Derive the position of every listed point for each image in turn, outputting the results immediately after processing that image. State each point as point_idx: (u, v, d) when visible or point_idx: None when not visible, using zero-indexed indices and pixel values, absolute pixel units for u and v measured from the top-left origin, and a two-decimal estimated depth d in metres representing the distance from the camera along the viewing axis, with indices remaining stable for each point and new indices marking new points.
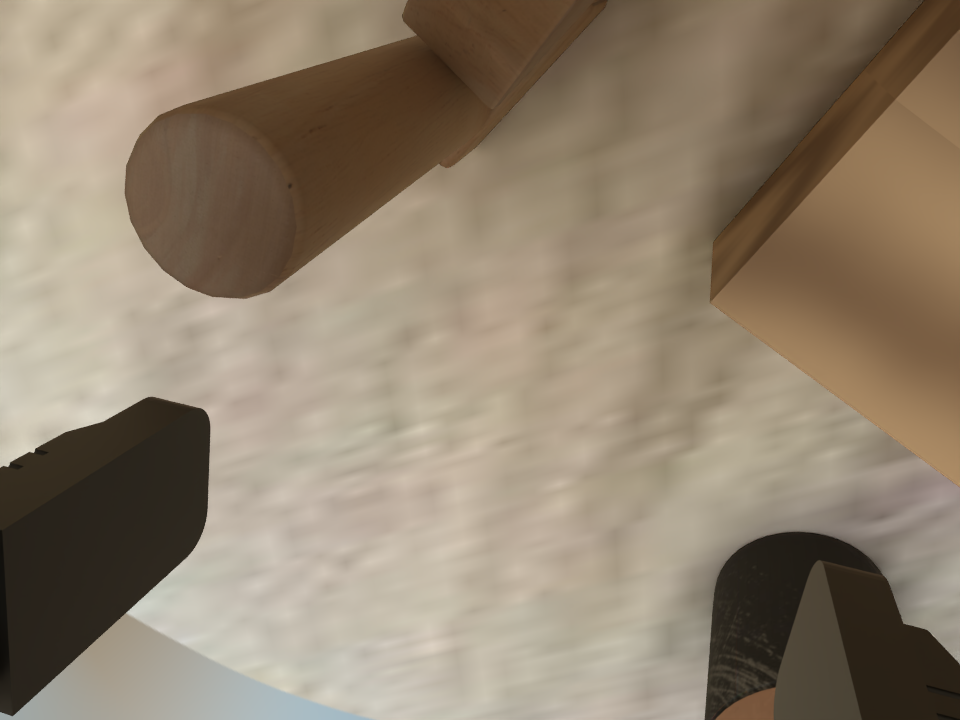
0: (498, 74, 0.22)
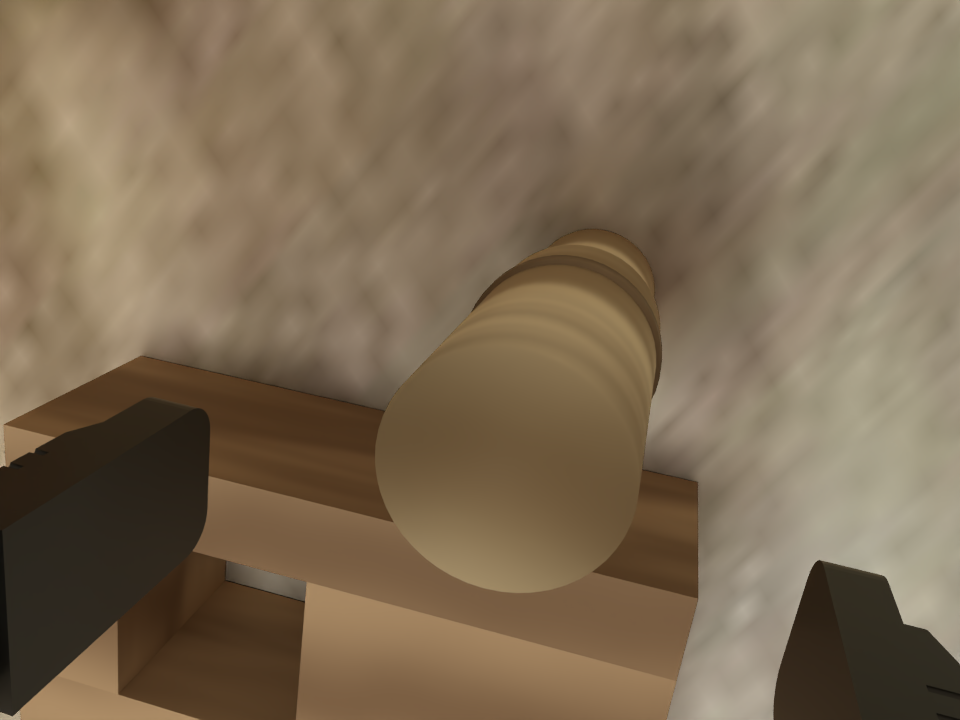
0: None
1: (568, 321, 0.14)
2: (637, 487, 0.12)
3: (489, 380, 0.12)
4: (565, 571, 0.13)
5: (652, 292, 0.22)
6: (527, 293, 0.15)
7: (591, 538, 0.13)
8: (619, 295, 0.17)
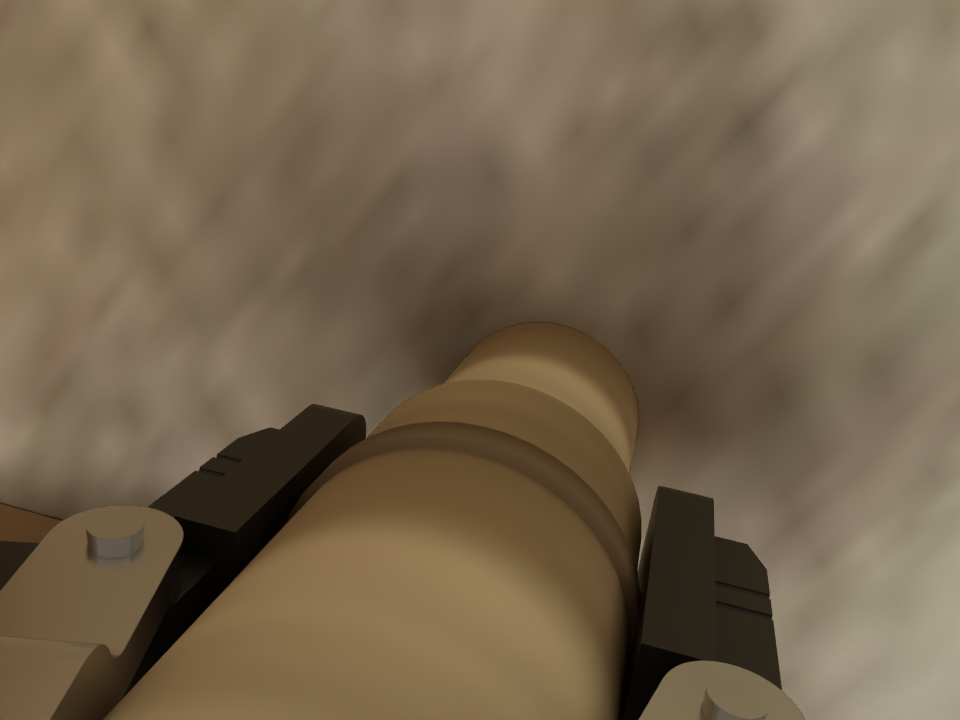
0: None
1: (380, 718, 0.05)
2: None
3: None
4: None
5: (633, 430, 0.14)
6: (326, 574, 0.07)
7: None
8: (551, 527, 0.08)
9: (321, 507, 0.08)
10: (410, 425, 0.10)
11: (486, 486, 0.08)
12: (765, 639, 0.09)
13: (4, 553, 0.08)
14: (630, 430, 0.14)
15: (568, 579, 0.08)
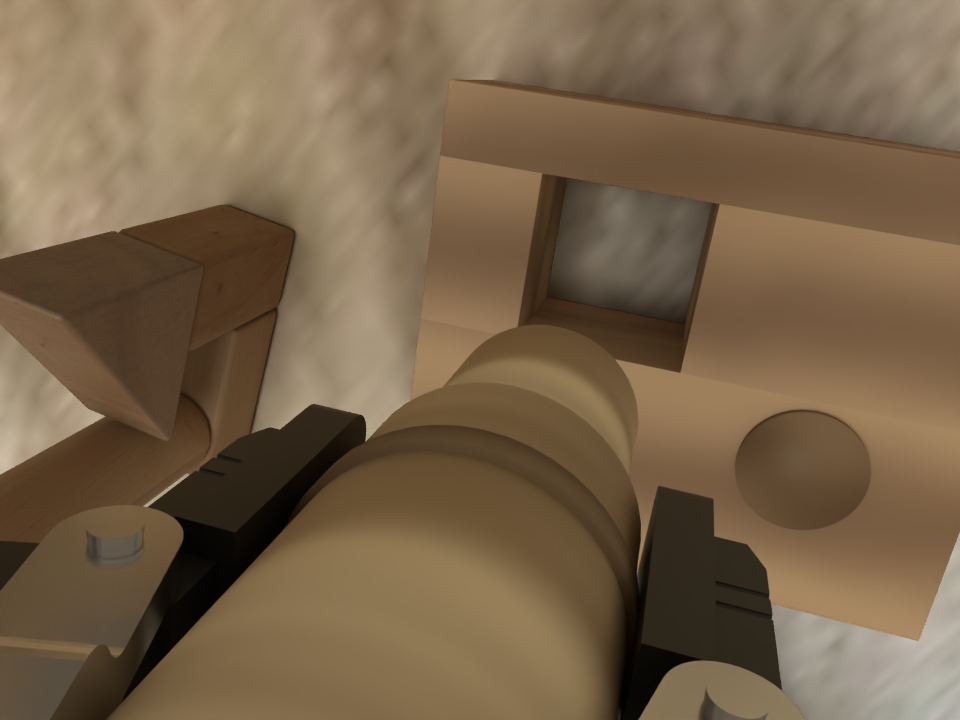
0: (143, 422, 0.30)
1: None
2: None
3: None
4: None
5: (633, 432, 0.14)
6: (326, 578, 0.07)
7: None
8: (550, 530, 0.08)
9: (321, 510, 0.08)
10: (410, 428, 0.10)
11: (485, 489, 0.08)
12: (765, 639, 0.09)
13: (3, 553, 0.08)
14: (630, 432, 0.14)
15: (567, 583, 0.08)
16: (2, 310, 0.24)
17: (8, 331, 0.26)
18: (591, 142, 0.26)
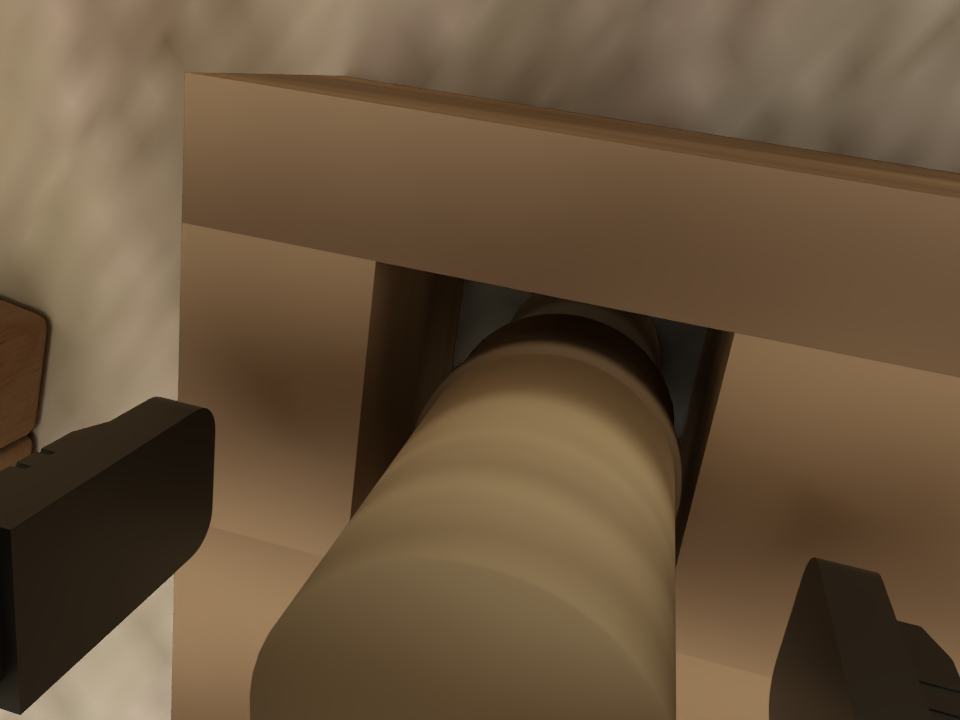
0: None
1: (557, 479, 0.09)
2: None
3: (428, 610, 0.07)
4: None
5: (658, 362, 0.18)
6: (494, 417, 0.10)
7: None
8: (625, 402, 0.12)
9: (466, 389, 0.12)
10: (514, 340, 0.13)
11: (579, 375, 0.12)
12: None
13: None
14: (657, 361, 0.17)
15: (641, 433, 0.11)
16: None
17: None
18: (469, 202, 0.12)
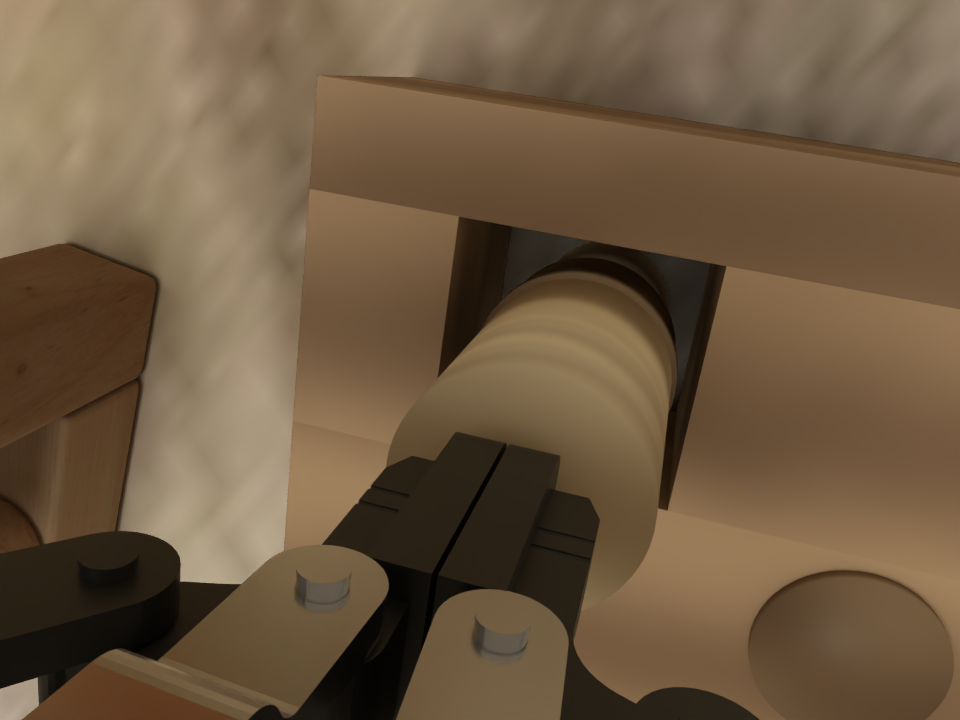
0: None
1: (584, 339, 0.13)
2: (655, 512, 0.12)
3: (502, 401, 0.12)
4: None
5: (666, 305, 0.22)
6: (541, 309, 0.15)
7: (607, 564, 0.12)
8: (634, 311, 0.16)
9: (519, 300, 0.16)
10: (553, 271, 0.18)
11: (601, 291, 0.16)
12: (576, 578, 0.09)
13: (199, 595, 0.08)
14: (665, 303, 0.22)
15: (645, 330, 0.16)
16: None
17: None
18: (531, 171, 0.17)
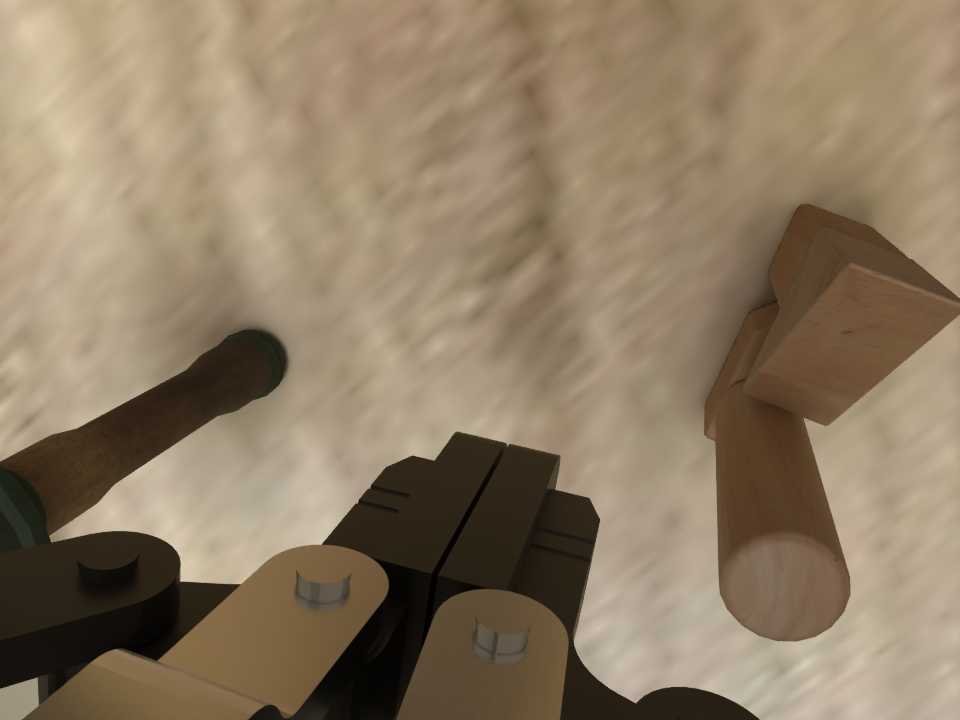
0: (834, 407, 0.32)
1: None
2: None
3: None
4: None
5: None
6: None
7: None
8: None
9: None
10: None
11: None
12: (576, 578, 0.09)
13: (198, 595, 0.08)
14: None
15: None
16: (865, 299, 0.26)
17: (811, 318, 0.28)
18: None
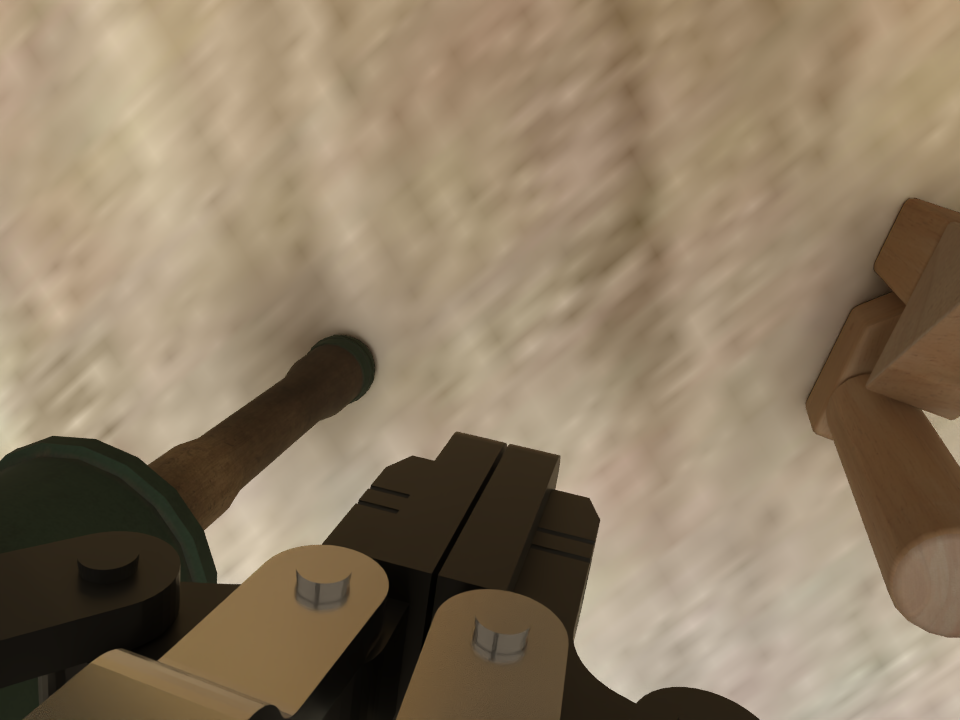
0: None
1: None
2: None
3: None
4: None
5: None
6: None
7: None
8: None
9: None
10: None
11: None
12: (576, 578, 0.09)
13: (199, 595, 0.08)
14: None
15: None
16: None
17: (958, 314, 0.28)
18: None
